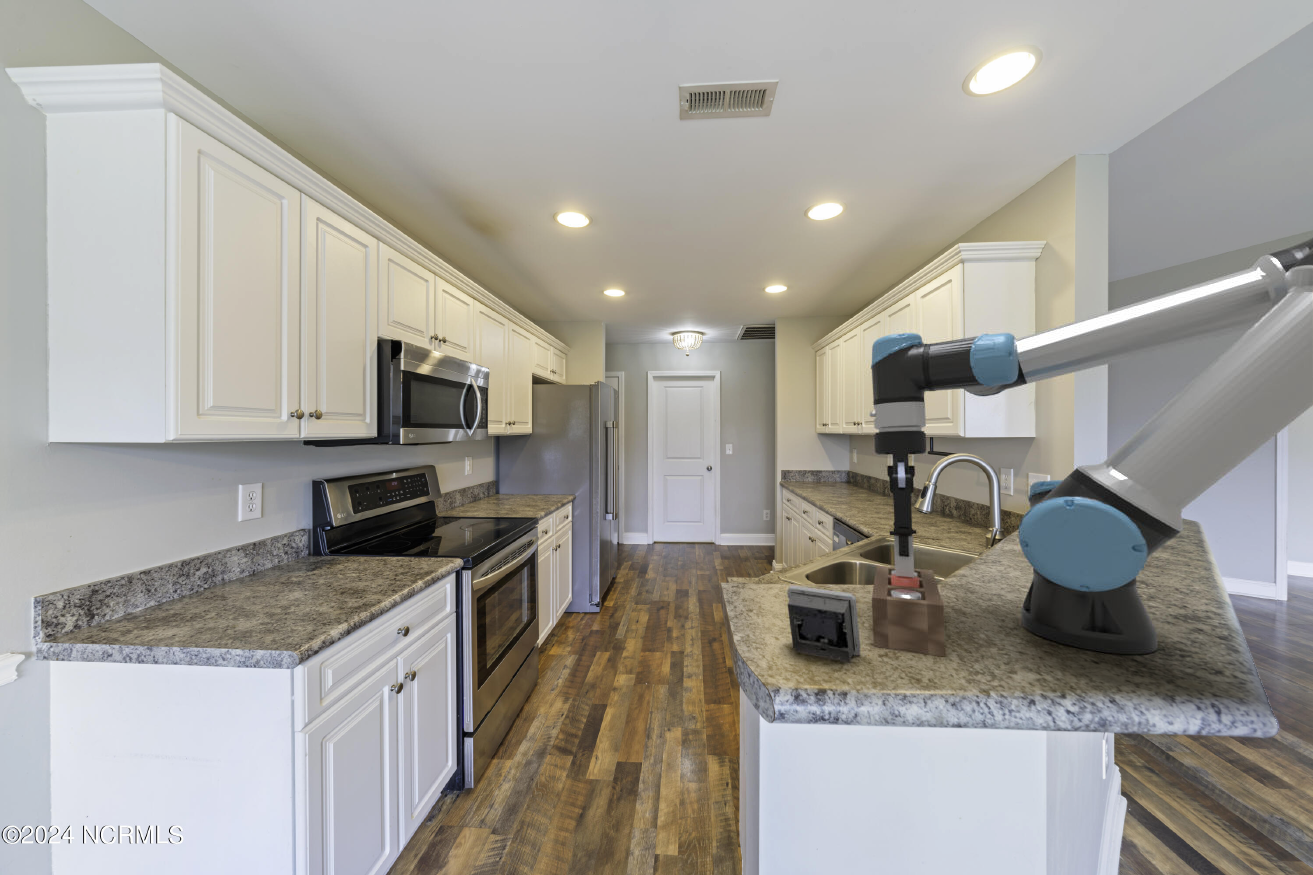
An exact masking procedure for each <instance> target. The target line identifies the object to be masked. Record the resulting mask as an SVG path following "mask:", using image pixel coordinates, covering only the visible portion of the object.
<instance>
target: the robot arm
mask: <svg viewBox="0 0 1313 875" xmlns="http://www.w3.org/2000/svg"><path fill="white" fill-rule="evenodd" d="M1243 331H1246V332H1245V333H1244V334H1243V335H1242V336H1240V337H1239V338H1238V339H1237V340H1236V341H1234V343H1233V344H1232V345H1231V346H1230V347H1229V348H1227V349H1226V350H1225V351H1224V352H1223V353H1222V354H1220V355H1219V356H1218V358H1216V359H1215V360H1214V361H1213V362H1212V363H1210V365H1208V366H1207V367H1206V368H1205V369H1204V370H1203V371H1202V372H1201V373H1200V374H1198V375H1197V376H1196V378H1194V379H1193V380H1192V381H1191V382H1190V383H1189V384H1188V385H1186V387H1184V388H1183V389H1182V390H1181V391H1180V392H1179V393H1177V395H1175V396H1174V397H1173V399H1171V400H1170V401H1169V402H1168V403H1167V404H1165V405H1164V407H1163V408H1161V409H1160V410H1159V411H1158V412H1157V413H1156V414H1155V415H1154V416H1153V417H1152V418H1150V419H1148V421H1147V422H1146V423H1145V424H1143V426H1142V427H1140V428H1139V429H1138V430H1137V431H1136V432H1135V433H1134V434H1133V435H1132V436H1131V437H1130V438H1128V439H1127V440H1126V441H1125V442H1124V443H1123V444H1122V445H1120V447H1118V448H1117V449H1116V450H1114V452H1113V453H1112V454H1110V455H1109V456H1108V458H1106V459H1105V460H1104V461H1103V462H1102V463H1098V464H1088V465H1078V466H1077V467H1076V468H1075V469H1074V470H1073V471H1072V472H1071V473H1069V475H1067V476H1066V477H1065V478H1064V479H1062V480H1059V479H1057V480H1039V481H1035V482H1033V483H1032V484H1031V485H1030V487H1029V494H1028V496H1027V500H1028V502H1029V508H1030V509H1029V510H1028V511H1026V513H1024V515H1023V517H1021V521H1020V522H1019V526H1018V542H1019V545H1020V548H1021V551H1022V553H1023V556H1024V557H1025V559H1026V560H1027V562H1028V563H1029V564H1030V566H1031V567H1032V570H1033V572H1032V574H1033V576H1032V580H1031V583H1030V585H1029V588H1028V590H1027V592H1026V593H1027V594H1026V596H1025V599H1024V601H1023V604H1022V607H1021V610H1020V611H1021V624H1022V626H1023V627H1024V629H1026V630H1027V631H1029V632H1030V633H1033V634H1034V635H1037V636H1039V637H1042V638H1045V639H1047V640H1050V641H1052V642H1056V643H1059V644H1062V645H1065V646H1066V645H1067V646H1071V647H1075V648H1079V649H1083V650H1090V651H1095V652H1102V653H1111V654H1119V655H1143V654H1144V655H1145V654H1149V653H1153V652H1155V651H1157V650H1158V633H1157V629H1156V628H1155V625H1154V624H1153V622H1152V619H1151V617H1150V615H1149V613H1148V610H1147V608H1146V606H1145V605H1144V602H1143V599H1142V598H1141V596H1140V594H1139V592H1138V588H1137V587H1138V586H1137V577H1138V576H1139V575H1140V572H1141V571H1142V570H1143V569H1144V568H1145V564H1146V563H1147V560H1148V558H1149V557H1151V556H1152V555H1153V554H1155V553H1156V552H1157V551H1159V550H1160V549H1161V548H1162V547H1163V546H1164V545H1166V544H1168V542H1170V541H1171V540H1172V539H1174V538H1175V537H1176V536H1177V535H1179V534H1181V533H1182V531H1184V524H1183V518H1182V512H1183V509H1185V508H1187V507H1188V505H1190V504H1191V503H1192V502H1194V500H1195V501H1196V499H1197V498H1199V497H1200V496H1201V495H1202V494H1203V493H1205V492H1206V491H1207V490H1209V489H1210V488H1211V487H1212V486H1213V485H1215V484H1216V483H1217V482H1218V481H1220V480H1221V479H1223V477H1225V476H1226V475H1228V473H1230V472H1231V471H1232V470H1234V469H1235V468H1236V467H1237V466H1238V465H1240V464H1242V463H1243V462H1244V461H1245V460H1246V459H1247V458H1249V457H1250V456H1251V455H1252V454H1254V453H1255V452H1256V451H1258V450H1259V449H1260V448H1261V447H1263V446H1264V445H1265V444H1266V443H1268V442H1269V441H1270V440H1271V439H1272V438H1274V437H1275V436H1276V435H1277V434H1279V433H1280V432H1281V431H1282V430H1284V429H1285V428H1286V427H1288V426H1289V425H1291V424H1292V422H1294V421H1295V420H1296V419H1298V418H1299V417H1300V416H1301V415H1303V414H1304V413H1305V412H1306V411H1307V410H1309V409H1310V408H1311V407H1313V237H1311V238H1308V239H1307V240H1304V241H1303V242H1300V243H1298V244H1295V245H1292V246H1289V247H1287V248H1284V249H1282V250H1277V251H1274V252H1271V253H1268V254H1266V255H1262V256H1260V257H1258V260H1257V261H1256V262H1255V263H1254V264H1253V265H1252V266H1251V267H1250V268H1247V269H1244V270H1240V271H1236V272H1234V273H1230V274H1226V275H1224V276H1221V277H1216V278H1214V279H1210V280H1207V281H1203V282H1201V283H1197V284H1194V285H1190V286H1187V287H1184V288H1181V289H1177V290H1174V291H1170V292H1167V293H1165V294H1162V295H1157V296H1154V297H1151V298H1148V299H1145V300H1141V301H1138V302H1135V303H1132V304H1128V305H1125V306H1122V307H1121V306H1120V307H1117V308H1114V309H1111V310H1108V311H1105V312H1101V313H1098V314H1096V315H1092V316H1088V317H1085V318H1082V319H1078V320H1075V321H1072V322H1069V323H1065V324H1063V325H1059V326H1055V327H1053V328H1049V329H1046V330H1043V331H1039V332H1036V333H1032V334H1029V335H1027V336H1022V337H1020V338H1016V336H1015V335H1014V334H1012V333H1011V332H1001V333H1000V332H999V333H992V334H989V333H982V334H981V335H977V336H976V335H975V336H970V337H964V338H957V339H953V340H951V339H950V340H945V341H941V342H935V343H934V342H933V343H924V342H923V338H922V336H921V334H918V333H914V332H904V333H903V332H902V333H893V334H888V335H885V336H882V337H879V338H877V339H876V340H875V341H874V342H873V343H872V347H871V348H872V349H871V364H870V370H871V379H872V380H871V381H872V398H873V402H872V403H873V410H874V411H873V410H872V411H870V412H869V417H870V418H874V419H873V427H874V429H876V430H878V432H875V434H874V435H873V438H874V453H875V454H876V455H888V456H889V455H892V465H887V466H886V468H887V473H886V474H887V477H888V479H889V483H888V484H889V492H890V493H891V494H892V495H893V519H894V521H893V526H894V527H893V530H889V536H893V548H894V567H895V576H905V577H914V569H915V564H914V563H915V562H914V558H915V557H914V537H913V535H917V529H914V528H913V520H912V519H913V517H912V512H913V511H912V494H913V493H915V492H914V491H915V486H914V477H915V476H916V471H915V470H916V467H915V465H910V464H909V455H923V454H925V453H927V434H926V432H925V430H923V429H922V428H924V427H926V426H927V419H926V417H927V416H926V401H925V394H926V392H937V391H947V390H948V391H949V390H962V389H963V390H965V391H966V392H967V393H969V394H971V395H974V396H976V397H977V396H978V397H990V396H995V395H999V394H1000V393H1002V392H1005V391H1006V390H1009V389H1014V388H1017V387H1021V386H1024V385H1027V384H1028V385H1029V384H1032V383H1035V382H1040V381H1044V380H1049V379H1053V378H1056V377H1061V376H1064V375H1069V374H1072V373H1076V372H1080V371H1084V370H1090V369H1093V368H1096V367H1097V368H1098V367H1100V366H1106V365H1109V364H1113V363H1117V362H1122V361H1125V360H1130V359H1133V358H1136V357H1137V358H1138V357H1142V356H1146V355H1149V354H1154V353H1158V352H1162V351H1166V350H1170V349H1174V348H1178V347H1182V346H1183V347H1184V346H1186V345H1191V344H1194V343H1198V342H1202V341H1207V340H1211V339H1215V338H1219V337H1223V336H1228V335H1231V334H1235V333H1239V332H1243Z"/></svg>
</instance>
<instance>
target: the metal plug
mask: <svg viewBox="0 0 1313 875" xmlns="http://www.w3.org/2000/svg"><path fill="white" fill-rule="evenodd" d="M891 597H898V598H907V599H916V600H921V594H920V593H918V592H916V591H912V590H905V589H896V590H892V591H891Z"/></svg>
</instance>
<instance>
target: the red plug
mask: <svg viewBox="0 0 1313 875" xmlns="http://www.w3.org/2000/svg"><path fill="white" fill-rule="evenodd" d="M891 585H894V586H904V587H914V588H919V577H917V576H914V577H905V576H895V574H892V575H891Z"/></svg>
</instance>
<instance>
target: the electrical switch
mask: <svg viewBox="0 0 1313 875" xmlns="http://www.w3.org/2000/svg"><path fill="white" fill-rule="evenodd" d="M786 594H787V598H788V602H787V611H788V619H789V626H790V635H791V641H792V642H791V643H792V649H793V651H794V652H796V653H802V654H805V655H806V654H807V655H812V656H815V657H819V658H820V657H821V658H824V657H825V659H829V660H835V661H839V662H843V663H849V664H850V663H851V659H852V657H853V656H858V655H859V654H860V653H861V639H860V630H859V629H860V628H859V618H858V609H857V599H856V598H857V597H856V596H855V595H854V594H853V593H851V592H844V591H835V590H827V589H820V588H814V587H807V586H806V587H804V586H801V585H800V586H799V585H791V586H789V587H788V589H787V593H786ZM821 649H824V650H821ZM844 661H845V662H844Z"/></svg>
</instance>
